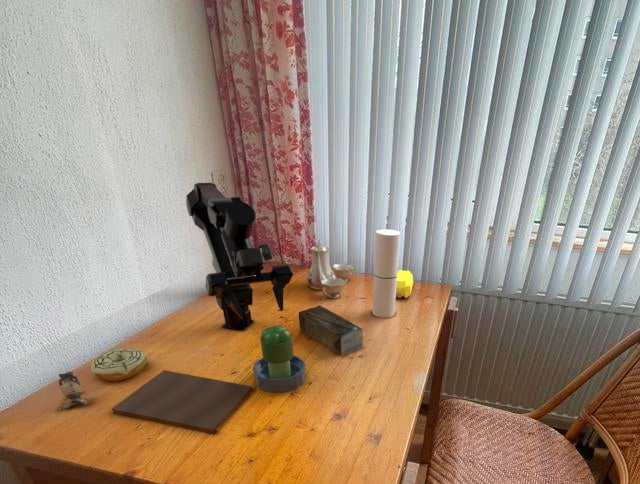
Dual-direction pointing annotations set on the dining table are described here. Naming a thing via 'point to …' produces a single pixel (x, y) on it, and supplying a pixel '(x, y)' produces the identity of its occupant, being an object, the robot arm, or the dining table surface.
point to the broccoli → (277, 351)
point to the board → (184, 401)
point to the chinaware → (327, 272)
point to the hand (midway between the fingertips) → (262, 314)
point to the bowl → (282, 384)
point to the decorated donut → (119, 364)
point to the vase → (71, 389)
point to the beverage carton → (331, 329)
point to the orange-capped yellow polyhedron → (404, 284)
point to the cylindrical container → (385, 272)
